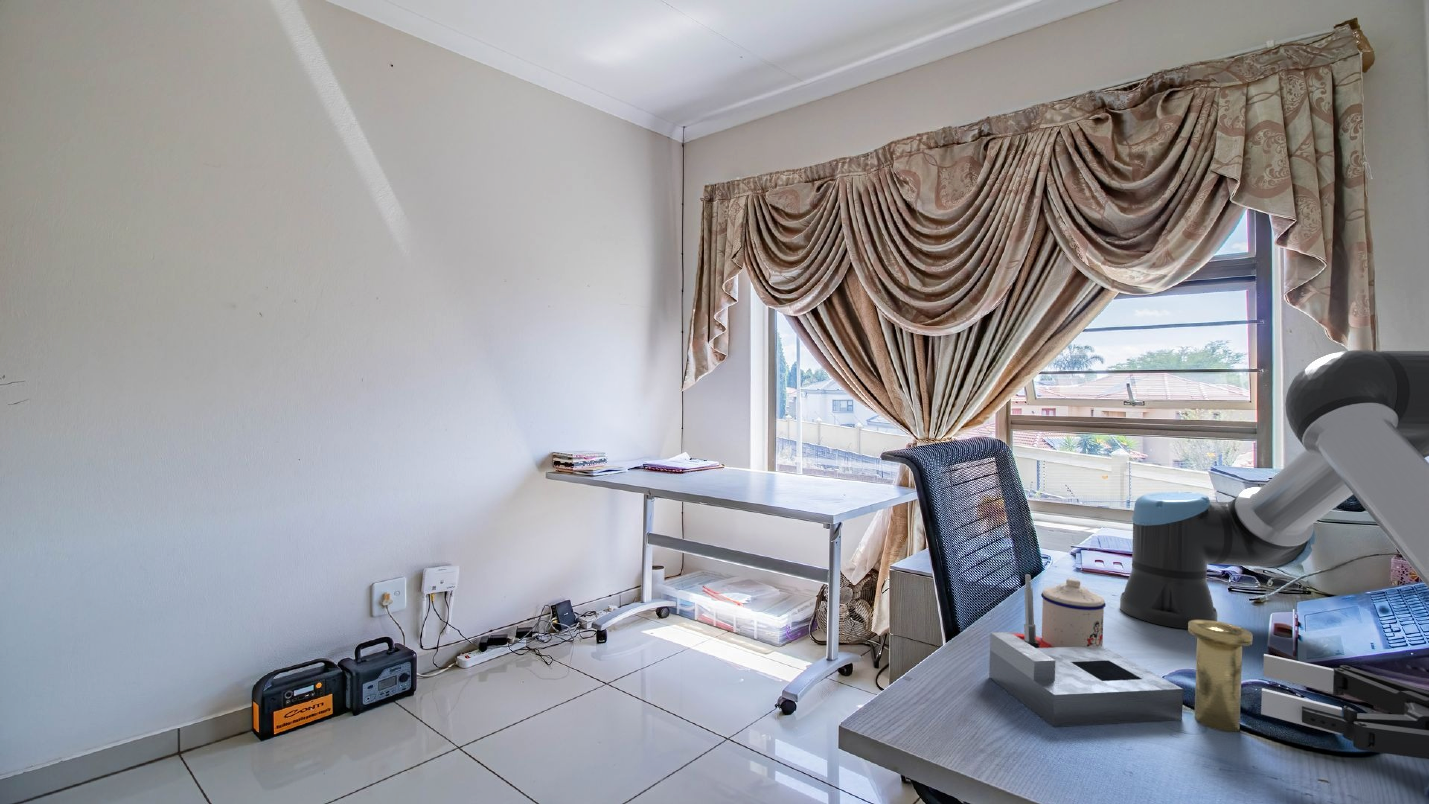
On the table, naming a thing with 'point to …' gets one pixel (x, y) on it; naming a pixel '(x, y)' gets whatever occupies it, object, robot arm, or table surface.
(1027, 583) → the tow hook
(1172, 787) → the table surface
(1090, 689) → the jig
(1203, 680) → the brass flanged peg
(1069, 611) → the teacup with lid
